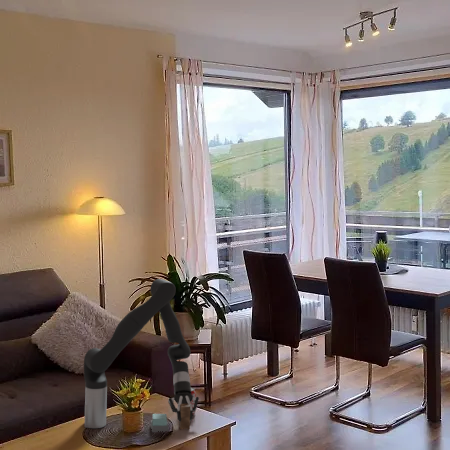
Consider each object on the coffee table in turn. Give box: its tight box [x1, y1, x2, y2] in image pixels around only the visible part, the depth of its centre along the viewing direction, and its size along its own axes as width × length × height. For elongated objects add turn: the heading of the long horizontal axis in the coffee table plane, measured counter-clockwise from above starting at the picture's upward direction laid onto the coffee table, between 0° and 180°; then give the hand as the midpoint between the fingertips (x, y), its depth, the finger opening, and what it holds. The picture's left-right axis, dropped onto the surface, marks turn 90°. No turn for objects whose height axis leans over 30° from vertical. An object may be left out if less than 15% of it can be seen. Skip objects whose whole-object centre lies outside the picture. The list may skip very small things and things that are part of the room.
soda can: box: [190, 386, 197, 415], centre depth 310 cm, size 7×7×12 cm
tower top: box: [152, 413, 168, 426], centre depth 291 cm, size 6×6×3 cm
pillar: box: [178, 404, 191, 430], centre depth 293 cm, size 4×4×10 cm
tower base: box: [150, 419, 170, 433], centre depth 291 cm, size 7×7×3 cm
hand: (185, 420), depth 292 cm, fingers closed on pillar, 4 cm apart
